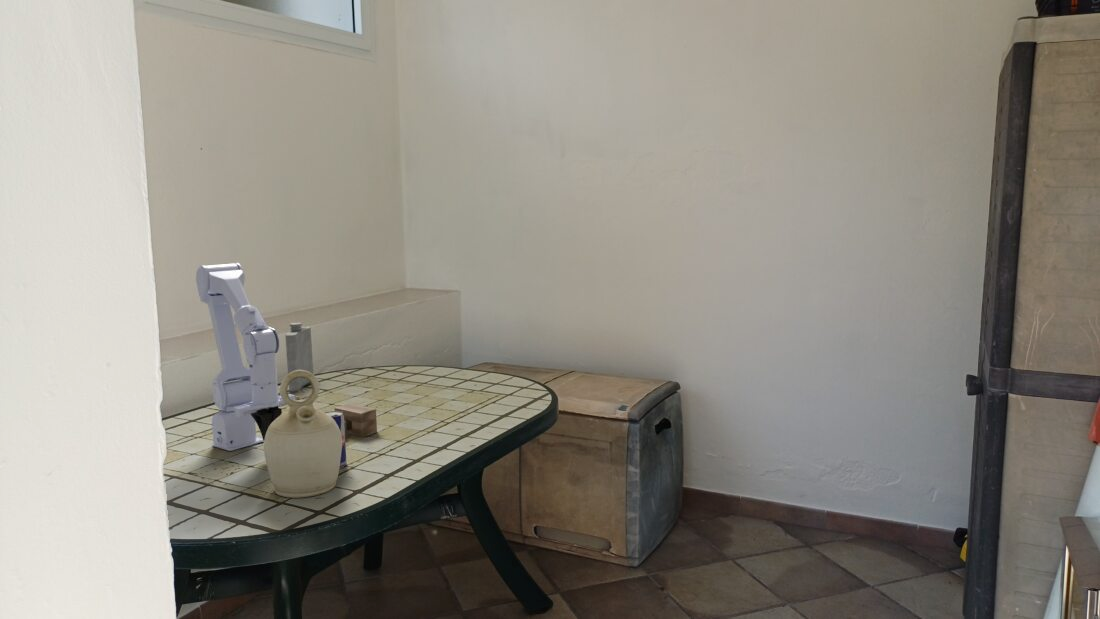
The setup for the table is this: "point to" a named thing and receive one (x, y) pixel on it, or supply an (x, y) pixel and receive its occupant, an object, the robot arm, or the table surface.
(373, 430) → the socket block
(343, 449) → the energy drink
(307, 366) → the hip flask
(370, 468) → the table surface
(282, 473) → the jug
